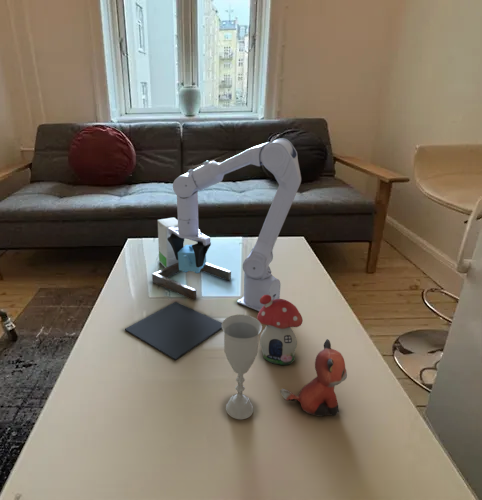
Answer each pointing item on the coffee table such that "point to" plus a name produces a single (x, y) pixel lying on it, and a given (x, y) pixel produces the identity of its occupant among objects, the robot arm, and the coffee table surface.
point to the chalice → (240, 358)
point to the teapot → (188, 260)
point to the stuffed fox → (322, 384)
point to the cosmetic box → (166, 242)
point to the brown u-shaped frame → (182, 289)
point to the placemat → (175, 329)
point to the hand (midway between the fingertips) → (189, 262)
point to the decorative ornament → (278, 330)
